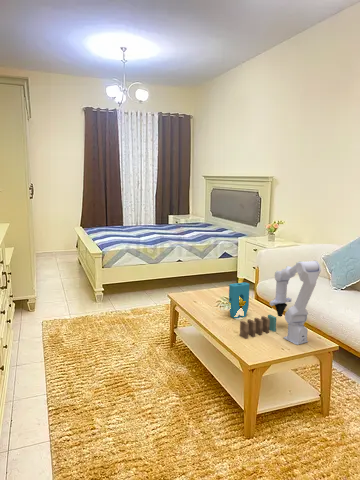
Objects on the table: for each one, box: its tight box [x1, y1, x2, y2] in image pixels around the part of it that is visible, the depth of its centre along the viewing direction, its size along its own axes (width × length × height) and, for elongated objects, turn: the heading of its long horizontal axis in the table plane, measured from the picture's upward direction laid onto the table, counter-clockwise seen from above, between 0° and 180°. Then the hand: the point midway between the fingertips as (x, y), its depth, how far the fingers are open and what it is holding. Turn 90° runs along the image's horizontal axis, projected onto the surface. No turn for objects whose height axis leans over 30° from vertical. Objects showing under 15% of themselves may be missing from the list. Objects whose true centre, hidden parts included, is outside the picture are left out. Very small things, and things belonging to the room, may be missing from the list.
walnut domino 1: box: [239, 320, 249, 340], centre depth 191 cm, size 5×2×8 cm, turn 29°
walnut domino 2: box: [246, 318, 257, 338], centre depth 194 cm, size 5×2×8 cm, turn 29°
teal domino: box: [267, 314, 277, 333], centre depth 201 cm, size 5×2×8 cm, turn 30°
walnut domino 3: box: [253, 317, 264, 336], centre depth 196 cm, size 5×2×8 cm, turn 29°
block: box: [228, 282, 251, 320], centre depth 220 cm, size 12×5×20 cm, turn 115°
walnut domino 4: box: [260, 315, 270, 335], centre depth 198 cm, size 5×2×8 cm, turn 29°
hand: (279, 315), depth 203 cm, fingers closed
